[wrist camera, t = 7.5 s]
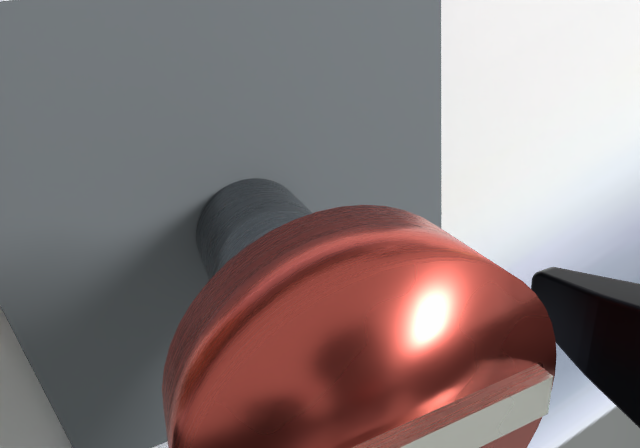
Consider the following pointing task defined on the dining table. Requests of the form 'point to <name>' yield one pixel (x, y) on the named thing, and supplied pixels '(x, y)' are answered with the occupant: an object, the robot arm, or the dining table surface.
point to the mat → (184, 164)
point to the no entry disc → (351, 333)
